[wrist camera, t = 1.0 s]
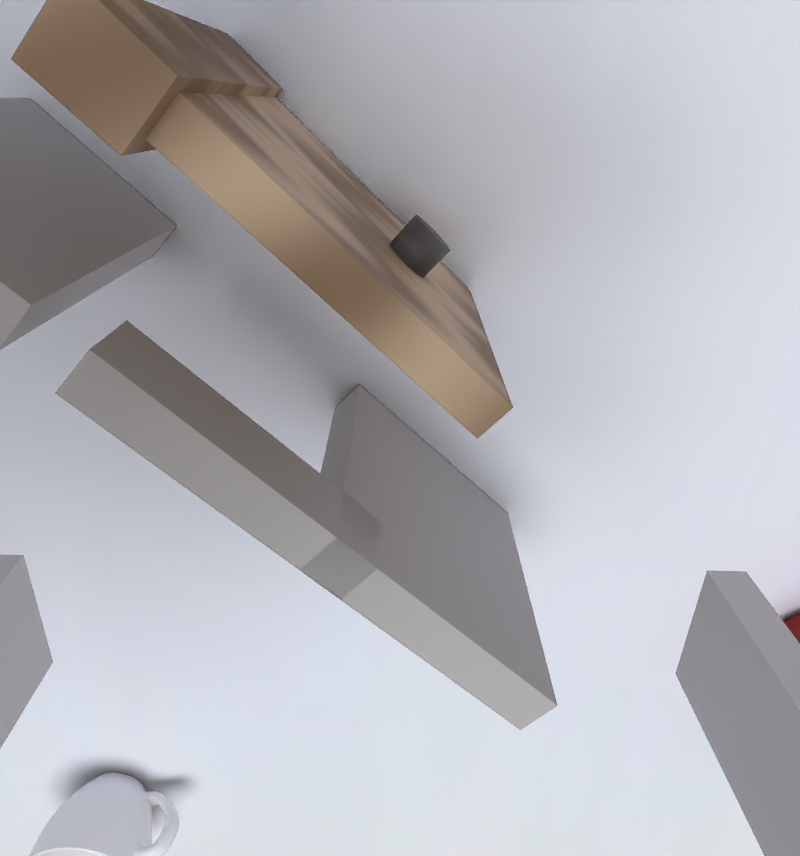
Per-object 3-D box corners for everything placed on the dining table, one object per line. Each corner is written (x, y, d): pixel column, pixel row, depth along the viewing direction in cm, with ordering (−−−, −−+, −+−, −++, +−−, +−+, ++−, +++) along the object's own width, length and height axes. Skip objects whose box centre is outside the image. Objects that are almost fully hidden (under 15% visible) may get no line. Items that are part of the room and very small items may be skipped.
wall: (7, 133, 30) (-274, 154, 18) (29, 98, 29) (-246, 94, 17) (483, 532, 40) (520, 730, 27) (507, 513, 39) (557, 705, 27)
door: (194, 80, 29) (11, 59, 15) (241, 14, 28) (88, -70, 14) (442, 318, 33) (470, 463, 20) (491, 270, 32) (554, 389, 19)
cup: (48, 766, 50) (-1, 859, 43) (170, 742, 48) (137, 834, 42) (96, 828, 53) (57, 922, 47) (212, 807, 52) (186, 900, 46)
